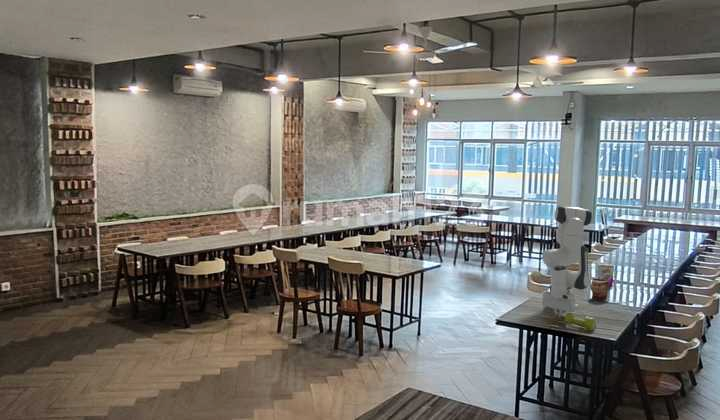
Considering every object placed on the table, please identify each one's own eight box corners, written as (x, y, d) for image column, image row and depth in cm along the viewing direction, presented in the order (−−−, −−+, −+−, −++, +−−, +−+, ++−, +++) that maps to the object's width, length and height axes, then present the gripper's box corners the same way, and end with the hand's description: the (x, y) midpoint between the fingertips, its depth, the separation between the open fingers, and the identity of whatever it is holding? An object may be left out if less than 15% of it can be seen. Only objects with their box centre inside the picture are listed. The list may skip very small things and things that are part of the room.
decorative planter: (592, 294, 416) (593, 275, 415) (610, 297, 410) (611, 277, 409) (587, 300, 399) (588, 281, 397) (606, 303, 393) (607, 283, 391)
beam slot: (555, 317, 356) (555, 313, 356) (595, 327, 337) (595, 323, 337) (542, 321, 347) (542, 317, 347) (583, 332, 328) (583, 327, 328)
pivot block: (585, 322, 346) (585, 316, 345) (590, 324, 344) (590, 317, 343) (582, 323, 344) (583, 316, 343) (587, 325, 342) (587, 318, 341)
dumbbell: (562, 326, 340) (563, 314, 339) (569, 323, 345) (569, 311, 344) (590, 332, 328) (590, 319, 327) (596, 329, 333) (597, 317, 333)
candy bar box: (597, 285, 446) (598, 264, 444) (596, 284, 451) (597, 263, 449) (613, 286, 442) (614, 265, 441) (612, 285, 447) (613, 264, 446)
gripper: (540, 291, 352) (539, 313, 353) (571, 297, 337) (570, 320, 338) (546, 289, 356) (545, 311, 357) (577, 295, 341) (576, 318, 342)
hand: (557, 316), depth 348 cm, fingers closed
